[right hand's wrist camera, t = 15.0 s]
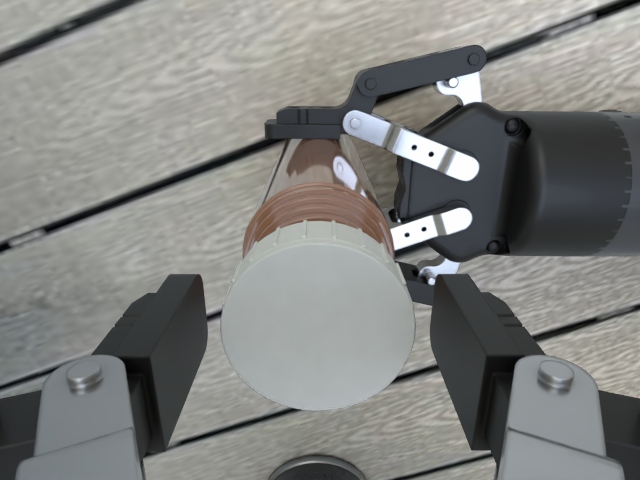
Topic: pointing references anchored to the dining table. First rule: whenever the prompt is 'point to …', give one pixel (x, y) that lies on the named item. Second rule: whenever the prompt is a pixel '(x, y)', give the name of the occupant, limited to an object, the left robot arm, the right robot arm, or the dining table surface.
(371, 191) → the bottle
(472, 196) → the left robot arm
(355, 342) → the cap
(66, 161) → the dining table surface
